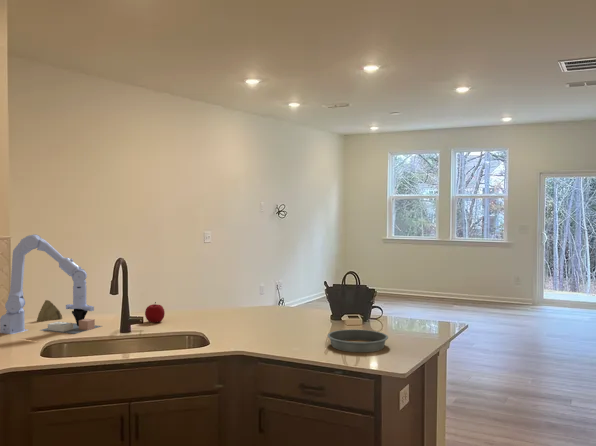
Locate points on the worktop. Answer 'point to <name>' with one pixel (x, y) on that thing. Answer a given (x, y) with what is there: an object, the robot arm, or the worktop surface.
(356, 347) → the cake pan
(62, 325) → the white flat block
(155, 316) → the apple
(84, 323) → the stub
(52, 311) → the rock
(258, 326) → the worktop surface
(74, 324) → the mat
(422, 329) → the worktop surface
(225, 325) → the worktop surface
